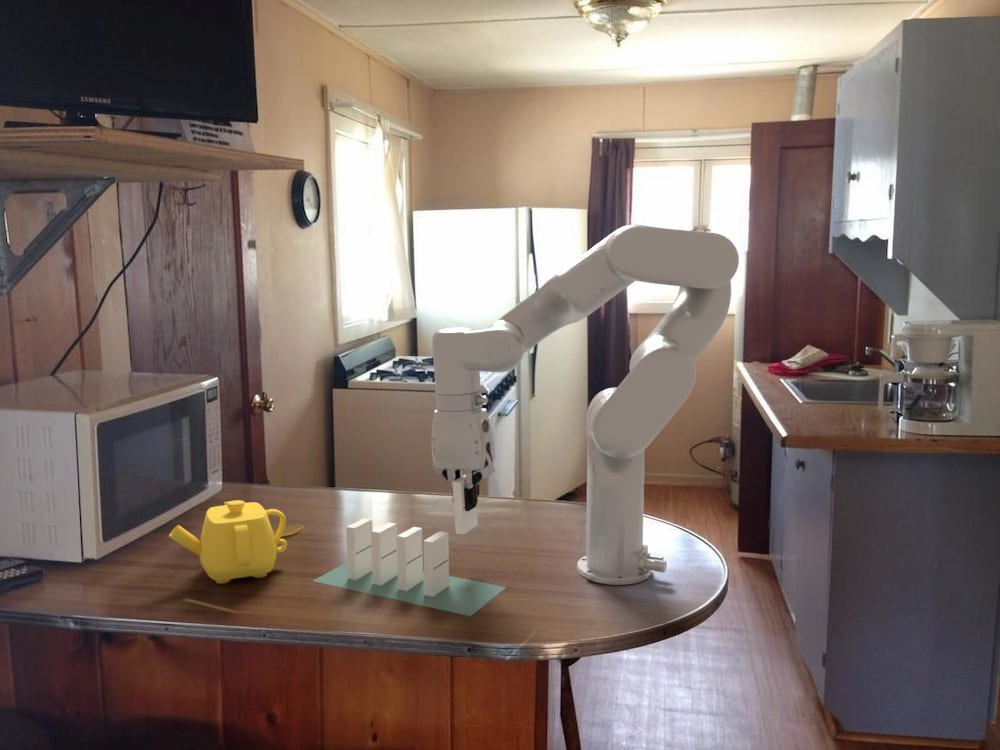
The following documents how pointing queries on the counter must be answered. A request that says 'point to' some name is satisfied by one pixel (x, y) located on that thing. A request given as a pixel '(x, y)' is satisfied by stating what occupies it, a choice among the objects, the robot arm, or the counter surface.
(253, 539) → the teapot
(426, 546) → the domino
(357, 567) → the domino
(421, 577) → the domino
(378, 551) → the domino
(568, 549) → the counter surface
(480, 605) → the runner mat
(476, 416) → the robot arm
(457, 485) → the domino
